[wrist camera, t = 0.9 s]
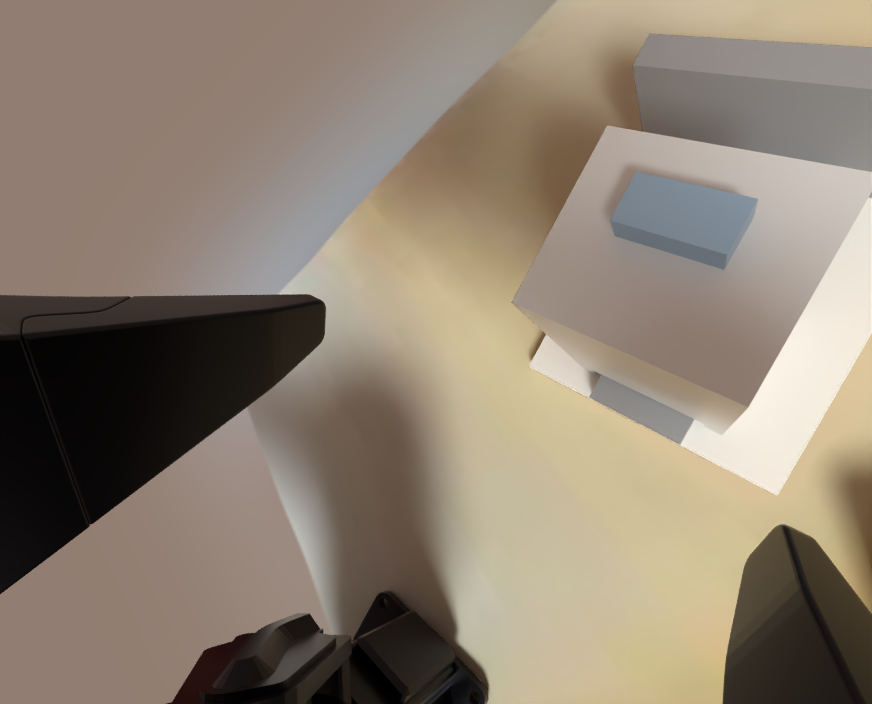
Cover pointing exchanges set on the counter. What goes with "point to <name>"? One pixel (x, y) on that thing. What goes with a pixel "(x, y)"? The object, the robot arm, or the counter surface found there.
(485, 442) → the counter surface
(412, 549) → the counter surface
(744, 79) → the board
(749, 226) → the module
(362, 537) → the counter surface
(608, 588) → the counter surface
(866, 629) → the robot arm
